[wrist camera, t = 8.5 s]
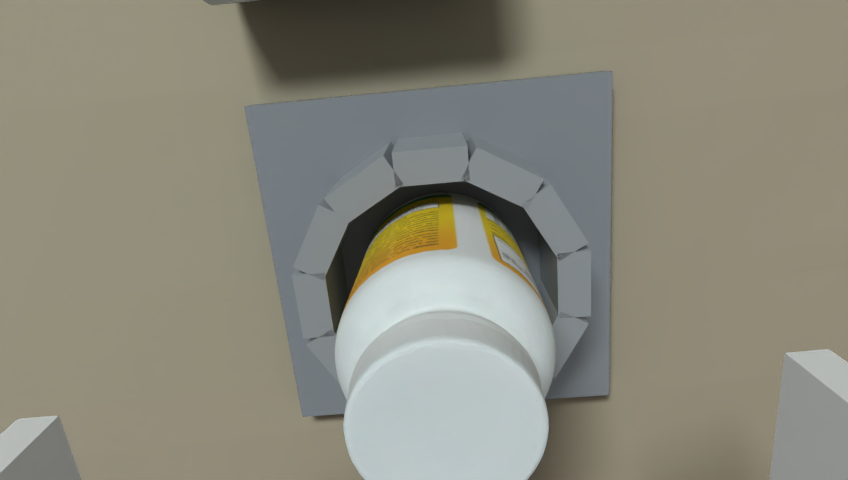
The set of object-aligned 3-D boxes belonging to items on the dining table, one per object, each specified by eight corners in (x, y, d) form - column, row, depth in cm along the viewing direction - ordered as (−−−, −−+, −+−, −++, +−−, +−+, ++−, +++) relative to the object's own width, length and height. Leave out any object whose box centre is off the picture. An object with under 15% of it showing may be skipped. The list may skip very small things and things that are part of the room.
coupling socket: (306, 404, 22) (283, 469, 19) (252, 104, 19) (209, 114, 15) (602, 383, 22) (636, 446, 18) (604, 71, 18) (647, 72, 15)
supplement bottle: (537, 212, 19) (635, 350, 10) (489, 345, 21) (535, 569, 12) (387, 170, 19) (344, 272, 10) (350, 308, 20) (283, 509, 11)
